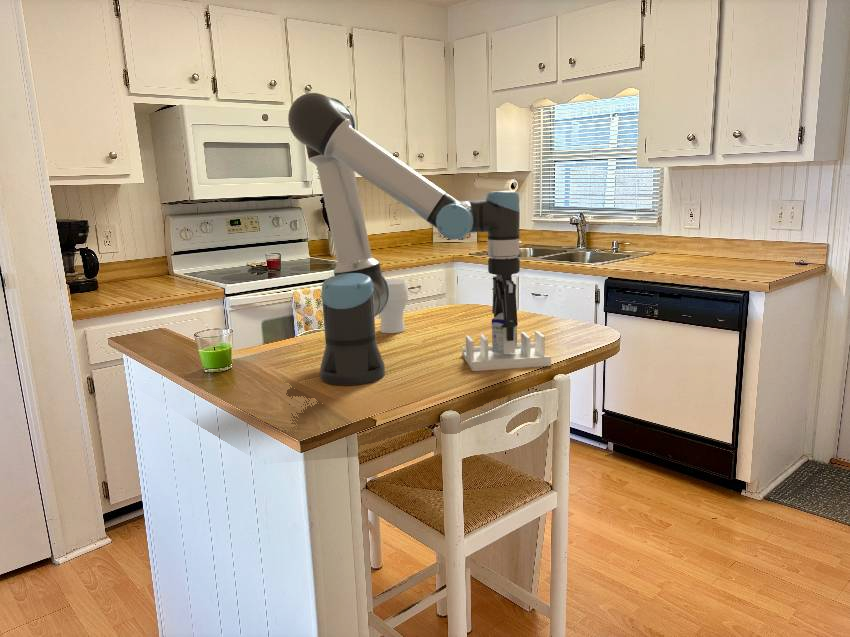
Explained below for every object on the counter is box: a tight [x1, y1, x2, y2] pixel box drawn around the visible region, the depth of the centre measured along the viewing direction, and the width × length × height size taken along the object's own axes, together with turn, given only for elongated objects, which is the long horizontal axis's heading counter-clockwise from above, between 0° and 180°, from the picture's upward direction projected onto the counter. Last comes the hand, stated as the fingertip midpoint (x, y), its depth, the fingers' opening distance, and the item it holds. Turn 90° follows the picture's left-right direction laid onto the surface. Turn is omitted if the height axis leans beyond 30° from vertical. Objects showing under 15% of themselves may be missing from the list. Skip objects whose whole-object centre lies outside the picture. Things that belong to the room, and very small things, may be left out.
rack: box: [461, 330, 552, 372], centre depth 157 cm, size 19×14×6 cm
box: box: [491, 313, 518, 353], centre depth 156 cm, size 8×4×9 cm, turn 159°
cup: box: [379, 278, 409, 334], centre depth 191 cm, size 11×11×15 cm
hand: (504, 348), depth 157 cm, fingers closed on box, 9 cm apart
